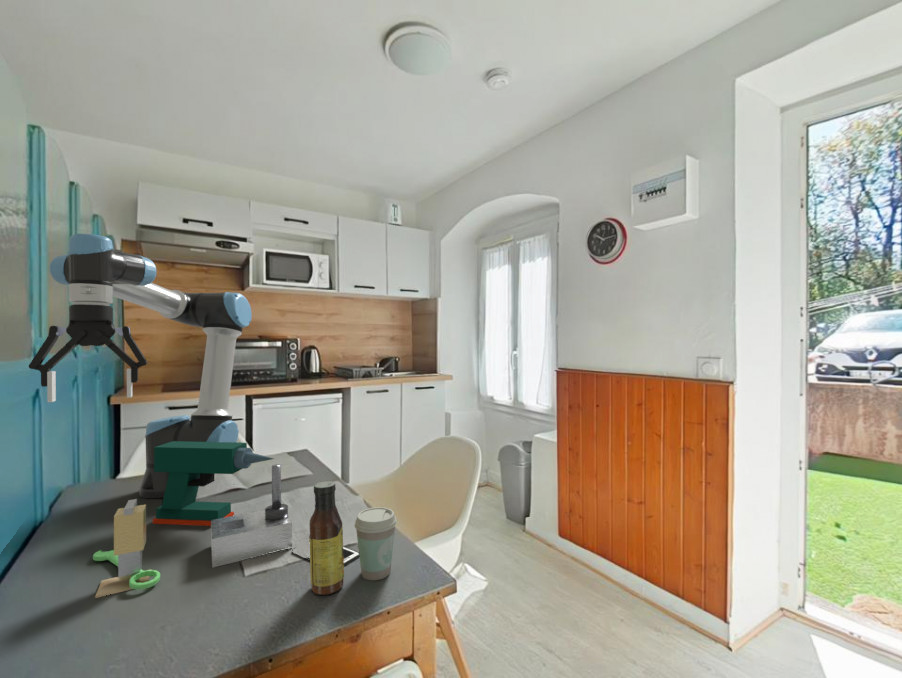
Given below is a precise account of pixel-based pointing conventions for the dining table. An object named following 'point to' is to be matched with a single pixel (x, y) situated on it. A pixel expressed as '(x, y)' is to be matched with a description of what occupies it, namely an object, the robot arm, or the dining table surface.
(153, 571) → the wrench
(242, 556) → the block
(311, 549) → the sauce bottle
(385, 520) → the coffee cup
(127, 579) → the key mat
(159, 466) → the power tool
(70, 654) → the dining table surface
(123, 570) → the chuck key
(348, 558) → the cell phone
